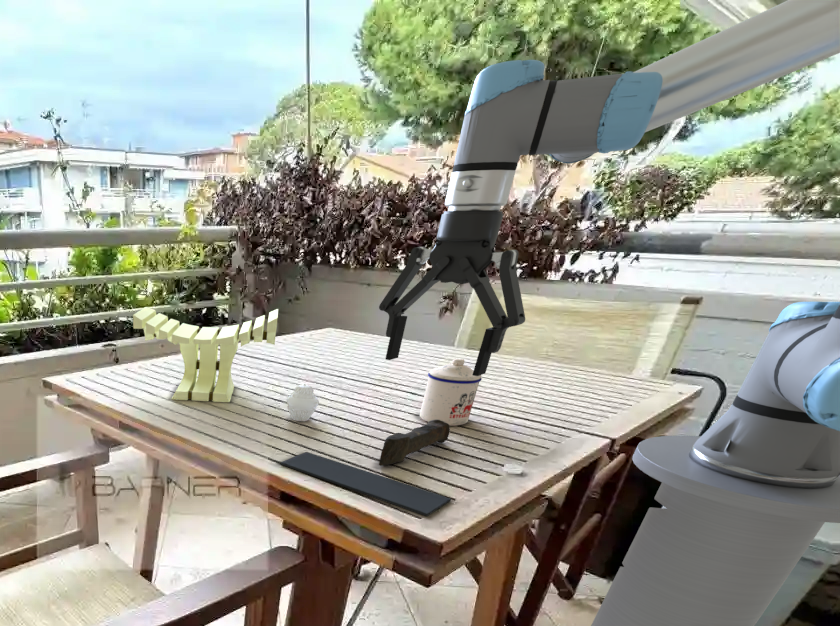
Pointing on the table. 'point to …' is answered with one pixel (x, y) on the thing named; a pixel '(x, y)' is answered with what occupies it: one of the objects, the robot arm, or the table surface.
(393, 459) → the hand tool
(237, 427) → the table surface
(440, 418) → the teacup with lid
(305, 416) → the white ribbed jar
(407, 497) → the edge strip
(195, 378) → the slatted curved stool
